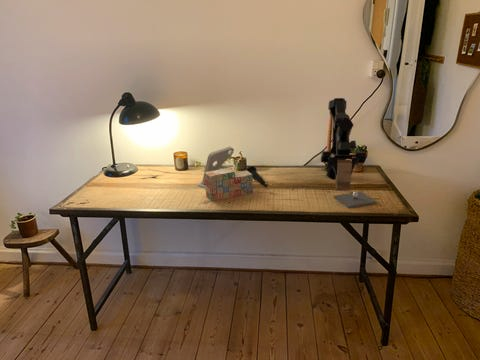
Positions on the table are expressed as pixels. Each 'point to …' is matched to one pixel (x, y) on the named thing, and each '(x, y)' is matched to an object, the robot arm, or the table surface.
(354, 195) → the steel pin
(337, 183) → the walnut block
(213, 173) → the stack of blocks
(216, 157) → the phone holder
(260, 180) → the microphone
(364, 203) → the charcoal base plate
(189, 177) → the table surface
